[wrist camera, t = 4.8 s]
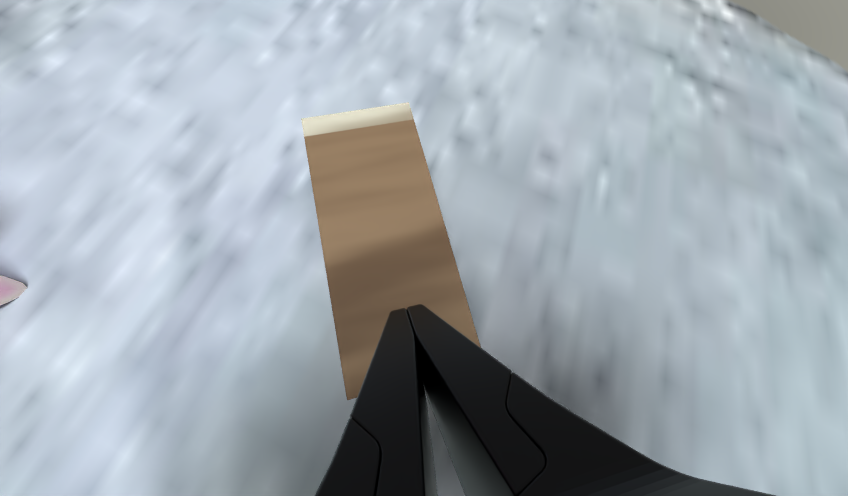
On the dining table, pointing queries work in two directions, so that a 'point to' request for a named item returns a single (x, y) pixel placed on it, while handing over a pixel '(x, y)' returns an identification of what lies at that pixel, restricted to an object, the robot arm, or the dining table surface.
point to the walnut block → (379, 230)
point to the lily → (10, 289)
